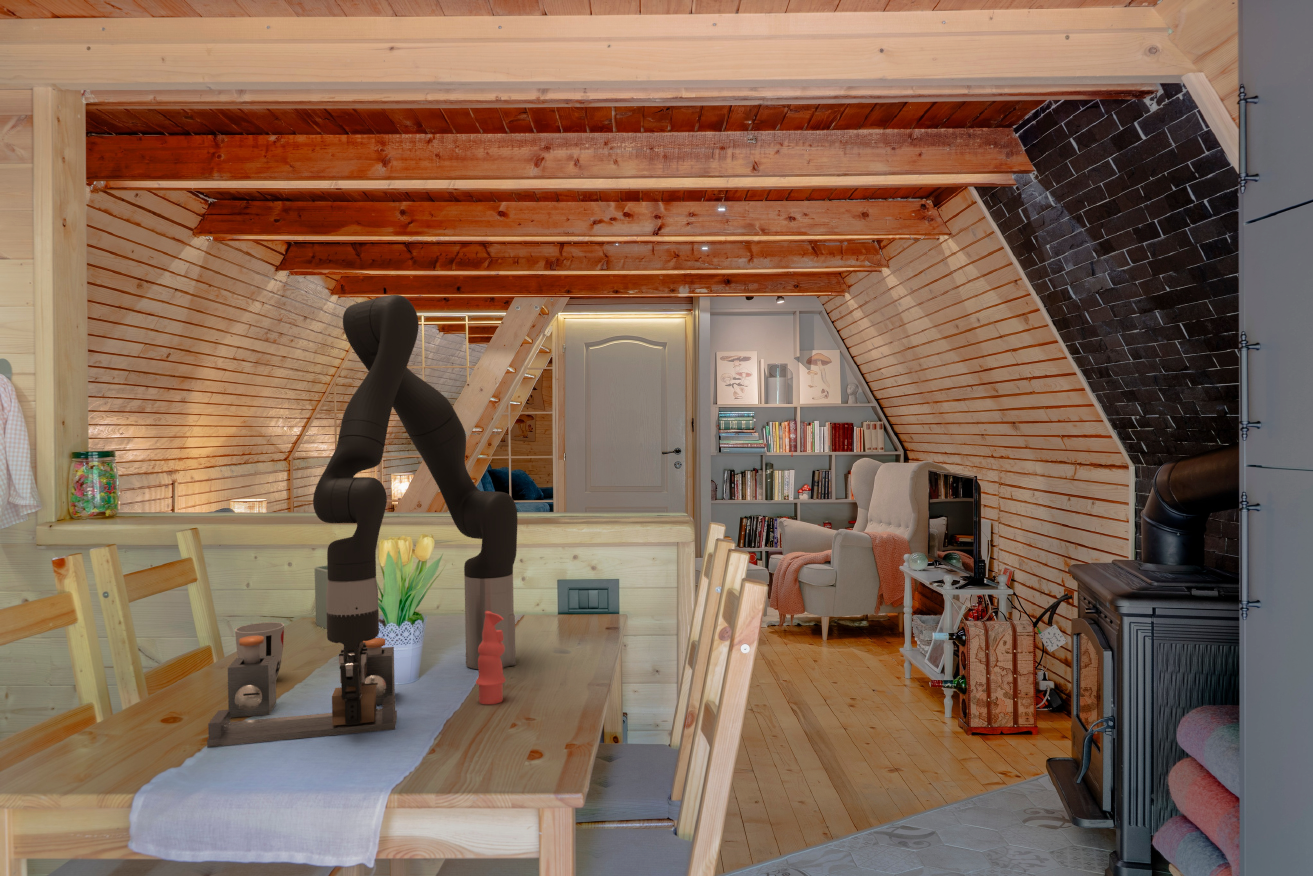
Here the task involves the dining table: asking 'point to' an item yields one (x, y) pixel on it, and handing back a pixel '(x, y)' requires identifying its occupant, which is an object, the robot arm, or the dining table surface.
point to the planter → (321, 595)
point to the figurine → (491, 661)
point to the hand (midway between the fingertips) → (354, 718)
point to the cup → (272, 639)
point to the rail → (292, 726)
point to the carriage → (366, 704)
